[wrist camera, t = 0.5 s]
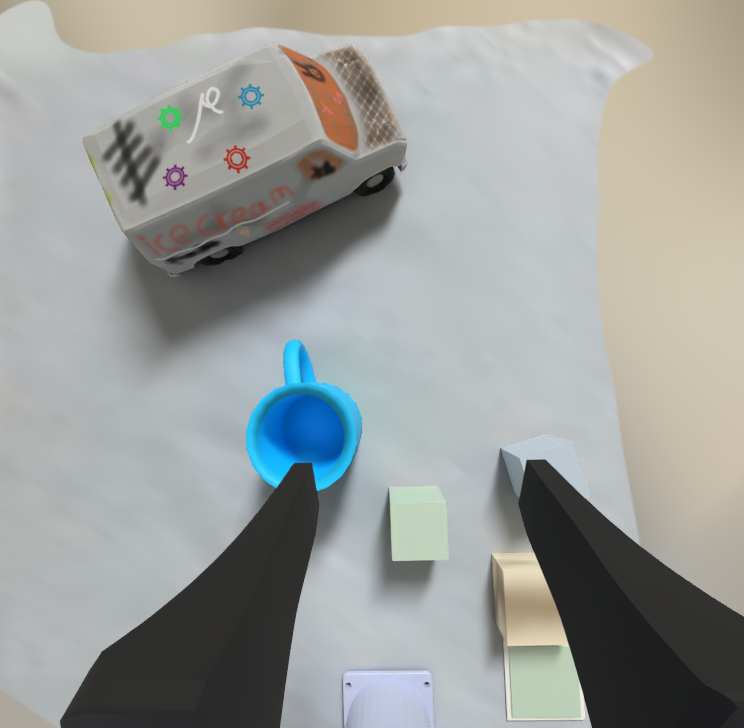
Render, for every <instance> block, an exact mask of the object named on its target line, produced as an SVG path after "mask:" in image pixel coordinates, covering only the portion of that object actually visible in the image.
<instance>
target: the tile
mask: <svg viewBox="0 0 744 728" xmlns="http://www.w3.org/2000/svg"><path fill="white" fill-rule="evenodd" d="M503 650H504V670H505V690H506V710H507V720H585V712H584V695H583V692H582V688H581V685H580V681H579V678H578V675H577V671H576V668H575V664H574V661H573V657H572V654H571V651H570V647H569V645H538V646H507V644H506V642H505V640H503Z"/></svg>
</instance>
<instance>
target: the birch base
mask: <svg viewBox="0 0 744 728" xmlns="http://www.w3.org/2000/svg"><path fill="white" fill-rule="evenodd" d="M492 568H493V586H494V604H495V621H496V623H497V625H498V628H499V630H500V632H501V634H502V636H503V638H504V640H505V642H506V644H507V646H538V645H569V644H568V641H567V638H566V634H565V631H564V628H563V625H562V621H561V618H560V616H559V613H558V610H557V607H556V605H555V602H554V600H553V597H552V595H551V592H550V590H549V587H548V585H547V583H546V580H545V578H544V575H543V573H542V570H541V568H540V566H539V563H538V561H537V558H536V556H535V553H534V552H533V553H493V554H492Z"/></svg>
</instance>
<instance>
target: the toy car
mask: <svg viewBox="0 0 744 728" xmlns="http://www.w3.org/2000/svg"><path fill="white" fill-rule="evenodd" d="M83 145H84V147H85V149H86V152H87V154H88V157H89V159H90V161H91V164H92V166H93V168H94V170H95V172H96V174H97V177H98V179H99V181H100V183H101V185H102V188H103V190H104V192H105V195H106V197H107V200H108V202H109V204H110V207H111V209H112V211H113V213H114V216H115V218H116V220H117V222H118V224H119V226H120V229H121V231H122V232H123V233H124V234H125V235H126V236H127V237H128V238H129V240H130V241H131V242H132V243H133V245H134V246H135V247H136V248H137V249H138V251H139V252H140V253H141V254H142V255H143V256H144V257H145V259H146V260H147V261H148V262H149V263H151V264H153V265H155V266H157V267H159V268H161V269H164V270H166V272H167V274H168V275H169V277H180V276H181V274H175V273H180V272H183V271H187V270H189V269H192V268H195V266H194V265H195V263H196V262H198V261H200V263H202V264H205V265H216V264H220V263H222V262H224V261H225V260H229V259H233V258H235V257H236V256H238V255H240V254H242V248H241V246H242V245H245V244H247V243H250V242H252V241H254V240H257V239H259V238H261V237H264V236H266V235H268V234H271V233H273V232H275V231H278V230H280V229H282V228H284V227H286V226H287V225H289V224H291V223H293V222H295V221H297V220H299V219H301V218H303V217H305V216H307V215H309V214H311V213H313V212H315V211H317V210H319V209H321V208H323V207H325V206H327V205H329V204H331V203H333V202H335V201H337V200H339V199H341V198H343V197H345V196H347V195H349V194H351V193H352V192H353V191H354V190H356V191H357V193H358V194H359V195H361V196H367V195H371V194H373V193H377V192H379V191H381V190H383V189H384V188H385V187H386V186H387V185H388V184H389V183H390V182H391V181H392V180H393V178H394V175H395V172H394V168H393V166H398V168H399V170H400V171H401V172H402V171H403V170H404V169H405V167H406V166H407V163H408V161H407V156H406V154H405V152H406V146H407V143H406V137H405V135H404V132H403V130H402V127H401V125H400V122H399V120H398V117H397V115H396V112H395V110H394V108H393V106H392V104H391V101H390V99H389V97H388V95H387V93H386V90H385V88H384V87H383V85H382V83H381V81H380V79H379V77H378V75H377V73H376V71H375V69H374V67H373V66H372V64H371V62H370V61H369V59H368V57H367V56H366V54H365V52H364V51H363V49H362V47H360V46H356V45H353V44H351V45H348V44H347V45H344V46H341V47H339V48H336V49H333V50H330V51H327V52H323V53H320V54H317V55H314V56H311V57H307V56H304V55H302V54H300V53H298V52H295V51H293V50H291V49H288V48H286V47H284V46H281V45H279V44H275V43H273V44H270V45H266V46H264V47H262V48H259V49H257V50H255V51H252V52H250V53H248V54H245V55H243V56H241V57H239V58H237V59H234V60H232V61H229V62H226V63H224V64H222V65H220V66H218V67H216V68H214V69H212V70H210V71H208V72H206V73H204V74H202V75H200V76H198V77H196V78H194V79H192V80H190V81H188V82H186V83H184V84H182V85H180V86H178V87H176V88H174V89H172V90H170V91H168V92H165V93H163V94H161V95H159V96H157V97H155V98H153V99H151V100H149V101H148V102H146V103H144V104H142V105H140V106H138V107H136V108H134V109H133V110H131V111H129V112H127V113H125V114H123V115H121V116H119V117H117V118H116V119H114V120H112V121H110V122H108V123H106V124H104V125H102V126H101V127H99V128H97V129H95V130H93V131H91V132H89V133H88V134H87V135H85V136H84V137H83Z"/></svg>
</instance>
